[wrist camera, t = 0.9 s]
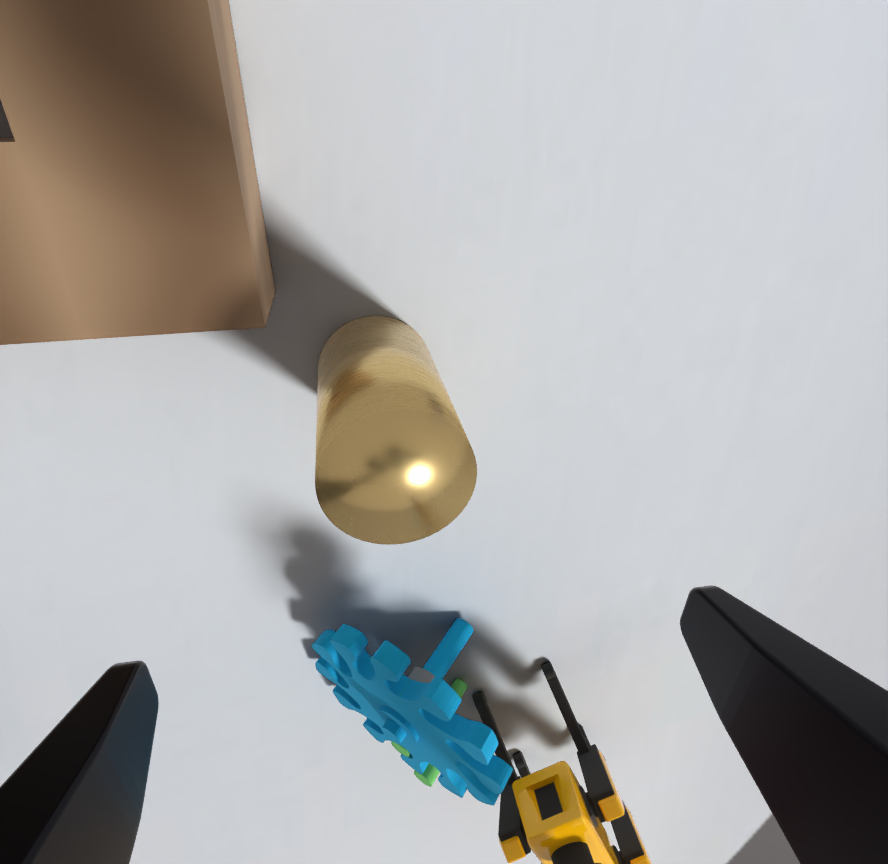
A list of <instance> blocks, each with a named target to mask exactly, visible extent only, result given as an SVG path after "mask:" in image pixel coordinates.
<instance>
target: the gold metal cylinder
mask: <svg viewBox="0 0 888 864" xmlns="http://www.w3.org/2000/svg"><path fill="white" fill-rule="evenodd" d="M476 477H477V464H476V459H475V455H474V453H473V450H472V447H471V445H470V443H469V441H468V438H467V436H466V434H465V432H464V429H463V427H462V425H461V423H460V420H459V418H458V416H457V414H456V412H455V409H454V407H453V405H452V403H451V400H450V398H449V396H448V394H447V391H446V389H445V387H444V385H443V382H442V380H441V378H440V376H439V373H438V371H437V369H436V367H435V364H434V362H433V360H432V358H431V355H430V353H429V351H428V349H427V346H426V345H425V343H424V341H423V339H422V338H421V337H420V336H419V334H418V333H417V332H416V331H415V330H414V329H412V328H411V327H410V326H408V325H407V324H405V323H403V322H401V321H399V320H396V319H394V318H390V317H385V316H366V317H361V318H358V319H355V320H352V321H350V322H348V323H346V324H344V325H343V326H341V327H340V328H339V329H337V330H336V331H335V332H334V333H333V334H332V335H331V336H330V338H329V339H328V340H327V342H326V343H325V345H324V347H323V349H322V352H321V354H320V358H319V366H318V397H317V434H316V471H315V486H316V494H317V498H318V501H319V504H320V506H321V508H322V510H323V512H324V513H325V515H326V516H327V517H328V519H329V520H330V521H331V522H332V523H333V524H334V525H335V526H336V527H338V528H339V529H340V530H342V531H343V532H345V533H346V534H348V535H350V536H352V537H354V538H357V539H360V540H363V541H366V542H371V543H377V544H402V543H408V542H413V541H416V540H420V539H423V538H425V537H428V536H430V535H432V534H434V533H436V532H438V531H440V530H441V529H443V528H444V527H446V526H447V525H448V524H450V523H451V522H452V521H453V520H454V519H455V518H456V517H457V516H458V515H459V514H460V513H461V512H462V510H463V509H464V508H465V506H466V505H467V503H468V502H469V500H470V498H471V496H472V493H473V491H474V488H475V484H476Z"/></svg>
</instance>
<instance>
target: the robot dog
mask: <svg viewBox="0 0 888 864" xmlns="http://www.w3.org/2000/svg"><path fill="white" fill-rule="evenodd" d="M541 667H542V670H543V672H544V675H545V677H546V679H547V681H548V683H549V686H550V688H551V690H552V692H553V695H554V697H555V699H556V702H557V704H558V706H559V708H560V711H561V713H562V715H563V717H564V720H565V722H566V724H567V726H568V729H569V731H570V733H571V736H572V738H573V740H574V742H575V745H576V747H577V749H578V751H577V755H578V759H579V762H580V766H581V769H582V773H583V776H584V780H585V783H586V787H587V791H588V792H587V793H585V791H584V789H583V788H582V786H580V784H579V783H578V781H577V779H576V777H575V775H574V774H573V772H572V770H571V768H570V767H569V765H568V764H567V763H566V762H565V761H560V762H558V763H556V764H553V765H551V766H549V767H546V768H544V769H542V770H539V771H537V772H535V773H532V774H530V772H529V769H528V767H527V764H526V762H525V759H524V756H523V754H522V752H519V753H517V754H514V755H513V759H514V762H515V765H516V767H517V769H518V771H519V773H520V776H521V778H520V776H518V777H517V775H516V772H515V770H514V767H513V765H512V762H511V760H510V758H509V755H508V753H507V750H506V748H505V745H504V743H503V741H502V738H501V736H500V733H499V731H498V728H497V726H496V723H495V721H494V719H493V716H492V714H491V711H490V709H489V706H488V704H487V701H486V698H485V696H484V694H483V692H482V691H481V692H479V693H476V694H474V695H473V700H474V703H475V706H476V708H477V710H478V712H479V714H480V717H481V719H482V722H483V724H485V725H486V726H488V727H489V728H491V729H492V730H493V732H494V734H495V735H496V738H497V740H498V746H497V748H496V750H495V754H496V756H497V757H499V758H500V759H502V760H504V761H505V762H506V763H507V764H509V765H510V766H511V767H512V768H513V771H512V773H511V775H510V777H509V779H508V781H507V783H506V785H505V787H504V789H503V791H502V793H501V802H500V818H499V833H498V835H499V842H500V845H501V848H502V850H503V853H504V855H505V858H506V860H507V862H508V863H511V862H514V861H516V860H519V859H521V858H523V857H525V856H526V854H528V853H530V852H531V850H532V851H533V853H534V854H535V855H536V856H537V858H538V859H539V860H540V861H541V864H652V863H651V860H650V857H649V855H648V853H647V850H646V848H645V845H644V843H643V841H642V838H641V836H640V833H639V831H638V829H637V826H636V824H635V822H634V820H633V817H632V815H631V812H630V811H629V809H628V808H627V807H626V806H625V805H624V802H623V801H622V799H621V797H620V794H619V792H618V790H617V787H616V785H615V782H614V780H613V777H612V775H611V772H610V770H609V768H608V765H607V763H606V760H605V758H604V756H603V754H602V753H601V752H600V751H599V750H598V749H597V747H596V745H595V744H594V745H590V743H589V741H588V739H587V736H586V734H585V732H584V729H583V727H582V726H580V727H579V725H578V723H577V721H576V718H575V716H574V714H573V712H572V709H571V707H570V705H569V703H568V700H567V698H566V696H565V694H564V691H563V689H562V687H561V685H560V682H559V680H558V678H557V676H556V673H555V671H554V669H553V667H552V664H551V662H548V663H546V664H543V665H541ZM605 821H607V822H609V821H611V824H612V827H613V830H614V833H615V836H616V839H617V842H618V845H619V848H620V851H619V852H618V850H617V848H616V847H615V846H614V845H613V843H612V841H611V840H610V838H609V836H608V834H607V832H606V831H605V829H604V827H603V825H602V822H605Z"/></svg>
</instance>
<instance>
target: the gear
mask: <svg viewBox="0 0 888 864" xmlns="http://www.w3.org/2000/svg"><path fill="white" fill-rule="evenodd" d="M472 633H473V628H472V626H471V625H470V624H469V623H468V622H466V621H465V620H463V619H460V618H457V619H456V620H455V621H454V623H453V624H452V626H451V627H450V629H449V630H448V632H447V633H446V635H445V636H444V637H443V639H442V640H441V642H440V643H439V645H438V646H437V648H436V649H435V651H434V652H433V653H432V655H431V656H430V658H429V659H428V661H427V662H426V664H425V665H424V667H423V668H421V667H414V669H413V670H412V672H411V673H410V675H409V676H408V677H406V676H405V675H404V674H403V673H404V672H405V670H406V669H407V668H408V666H409V665H410V663H411V660H410V658H409V657H408V656H407V655H406V654H405V653H404V652H403V651H402V650H400V649H399V648H398V647H396V646H395V645H393V644H392V643H390V642H389V641H387V640H385V641H384V642H383V643H382V644H381V646H380V647H379V648H378V650H377V651H376V652H375V654H374V655H373V656H372V657H371V656H370V655H369V654H368V653H367V651H366V650H365V647H366V646H367V644H368V640H367V638H366V637H365V635H364V634H363V633H362V632H361V631H359V630H357V629H355V628H354V627H351V626H349V625H346V624H343V625H342V626H341V627H340V628H339V629H338V631H337V632H335V631H334V630H330V629H328V630H325V631H324V632H323V633H322V634H321V635H320V636H319V637H318V639H317V640H316V641H315V642H314V643H313V644H312V645H311V646H312V647H313V649H314V650H315V651H316V652H317V653H318V654H319V655H320V656H321V657H320V658H319V659H318V661H317V662H316V669H317V671H318V672H319V673H321V674H322V675H323V676H324V677H326V678H327V679H329V680H331V681H332V682H334V683H335V684H337V686H336V687H335V688H334V690H333V693H334V695H335V696H336V698H337V699H338V701H339V702H340V703H341V704H342V705H343V706H345V707H346V708H348V709H351V710H355V711H357V712H359V713H361V714H362V715H364V716H366V717H367V720H366V721H365V722H364V724H363V726H364V727H365V728H366V729H367V730H368V731H369V733H370V734H371V735H372V736H373V737H374V738H375V739H376V740H378V741H380V742H382V743H383V742H384V741H385V740H390V741H392V742H391V743H392V745H393V746H394V748H395V749H396V750H397V751H399V752H400V753H401V758H402V759H403V760H404V761H405V762H406V763H407V764H408V765H409V766H411V767H412V768H413V769H414V770H415V771H414V774H415V775H416V777H417V778H418V779H419V780H420V781H422V782H423V783H424V784H426V785H427V786H430V787H431V786H432V784H433V783H434V781H435V779H436V777H437V776H438V774H439V772H441V775H440V776H439V778H438V780H439V782H440V783H441V785H442V786H444V787H445V788H446V789H448V790H449V791H451V792H452V793H454V794H456V795H458V796H459V797H461V798H462V797H463V795H464V793H465V792H466V790H467V789H468V791H469V792H470V793H471V794H472V795H473V796H474V797H475V798H476V799H477V800H479V801H481V802H483V803H486V804H489V805H494V804H495V802H496V800H497V798H498V796H499V794H501V793H502V791H503V789H504V787H505V785H506V783H507V781H508V779H509V777H510V775H511V773H512V771H513V768H512V767H511V766H510V765H509V764H507V763H506V762H505V761H504V760H502V759H500V758H499V757H497V756H495V755H493V754H494V752H495V750H496V748H497V746H498V740H497V738H496V735H495V734H494V732H493V730H492V729H491V728H489V727H488V726H486V725H485V724H483V723H481V722H478V721H473V720H469V719H466V718H464V717H462V716H460V715H458V714H456V713H455V711H456V710H457V708H458V706H459V705H460V703H461V701H462V700H461V698H462V696H463V694H464V693H465V691H466V689H467V688H468V687H467V685H466V683H465V682H463V681H462V680H460V679H456V680H455V681H454V683H453V685H452V686H451V687H450V686H449V685H448V684H447V683H446V682H445V681H444V680H443V678H444V676H445V675H446V673H447V672H448V670H449V669H450V667H451V665H452V664H453V662H454V661H455V659H456V658H457V656H458V655H459V653H460V652H461V650H462V649H463V647H464V645H465V644H466V642H467V641H468V639H469V638H470V636H471V635H472Z"/></svg>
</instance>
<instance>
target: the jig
mask: <svg viewBox="0 0 888 864" xmlns="http://www.w3.org/2000/svg"><path fill="white" fill-rule="evenodd" d="M0 100H1V103H2V106H3V108H4V111H5V114H6V117H7V120H8V123H9V125H10V128H11V131H12V134H13V137H14V138H0V345H6V344H21V343H36V342H51V341H67V340H82V339H97V338H113V337H128V336H143V335H158V334H174V333H189V332H204V331H219V330H235V329H250V328H265V327H266V323H267V320H268V316H269V313H270V309H271V306H272V302H273V299H274V295H275V286H274V279H273V273H272V267H271V261H270V255H269V248H268V242H267V236H266V230H265V224H264V217H263V211H262V205H261V199H260V193H259V187H258V180H257V174H256V168H255V162H254V156H253V149H252V143H251V137H250V131H249V125H248V118H247V112H246V106H245V100H244V94H243V87H242V81H241V75H240V69H239V63H238V57H237V50H236V44H235V38H234V32H233V26H232V19H231V13H230V7H229V1H228V0H0Z"/></svg>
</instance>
